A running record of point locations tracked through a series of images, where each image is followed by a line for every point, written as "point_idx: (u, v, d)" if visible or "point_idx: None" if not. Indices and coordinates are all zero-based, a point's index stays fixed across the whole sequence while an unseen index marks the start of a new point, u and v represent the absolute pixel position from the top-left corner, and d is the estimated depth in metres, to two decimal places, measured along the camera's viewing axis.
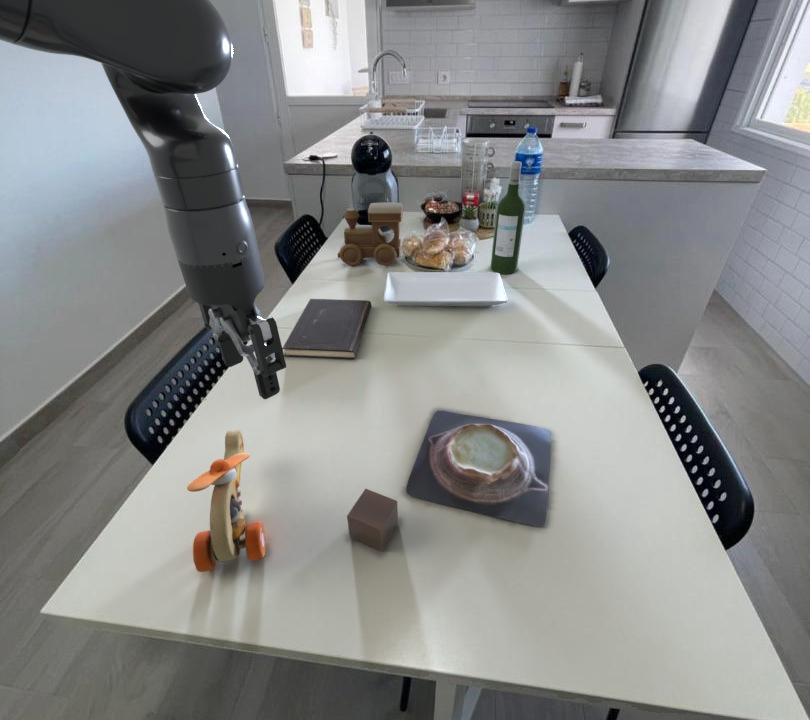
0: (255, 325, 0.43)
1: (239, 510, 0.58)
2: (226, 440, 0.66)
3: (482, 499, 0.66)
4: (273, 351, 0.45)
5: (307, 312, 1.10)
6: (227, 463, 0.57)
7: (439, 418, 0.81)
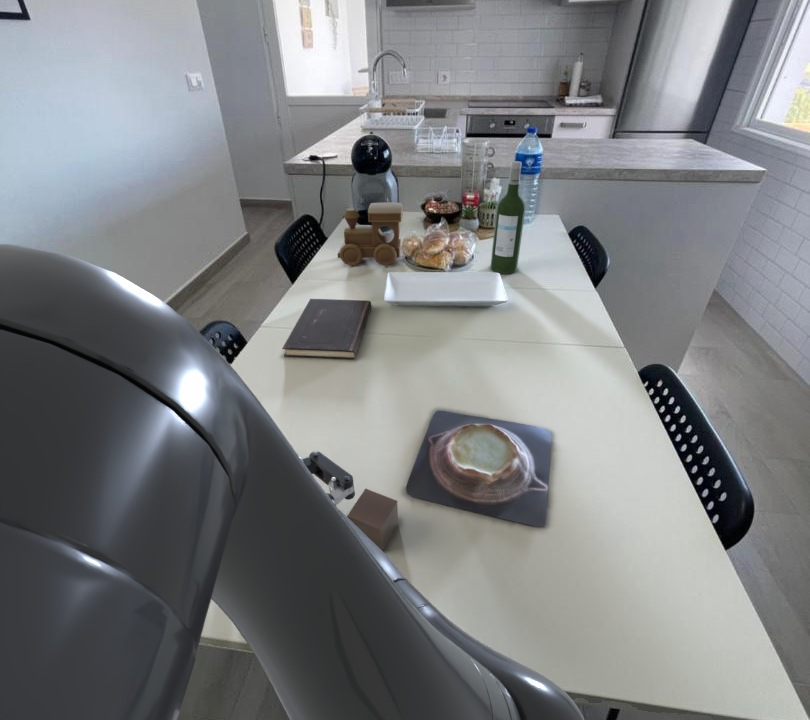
0: None
1: None
2: None
3: (482, 499, 0.66)
4: None
5: (307, 312, 1.10)
6: None
7: (439, 418, 0.81)
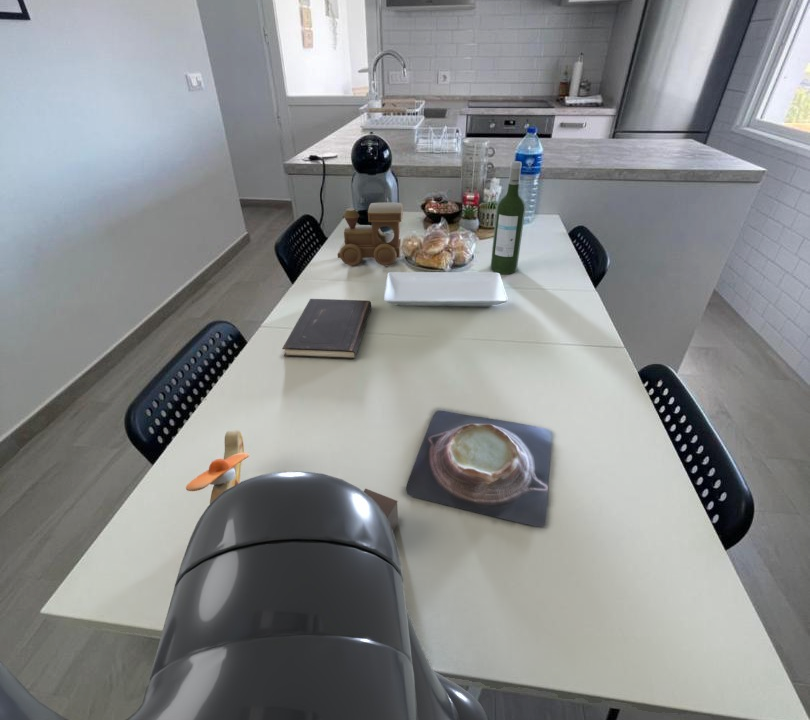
0: None
1: None
2: (226, 440, 0.66)
3: (482, 499, 0.66)
4: None
5: (307, 312, 1.10)
6: (226, 463, 0.57)
7: (439, 418, 0.81)
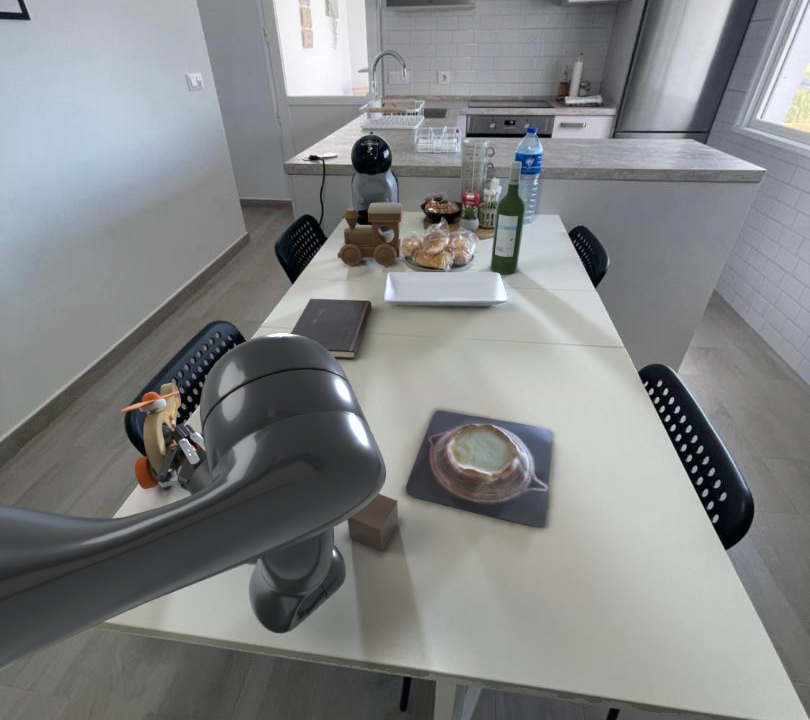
0: (159, 481, 0.61)
1: None
2: (161, 389, 0.78)
3: (482, 499, 0.66)
4: None
5: (307, 312, 1.10)
6: (156, 394, 0.68)
7: (439, 418, 0.81)
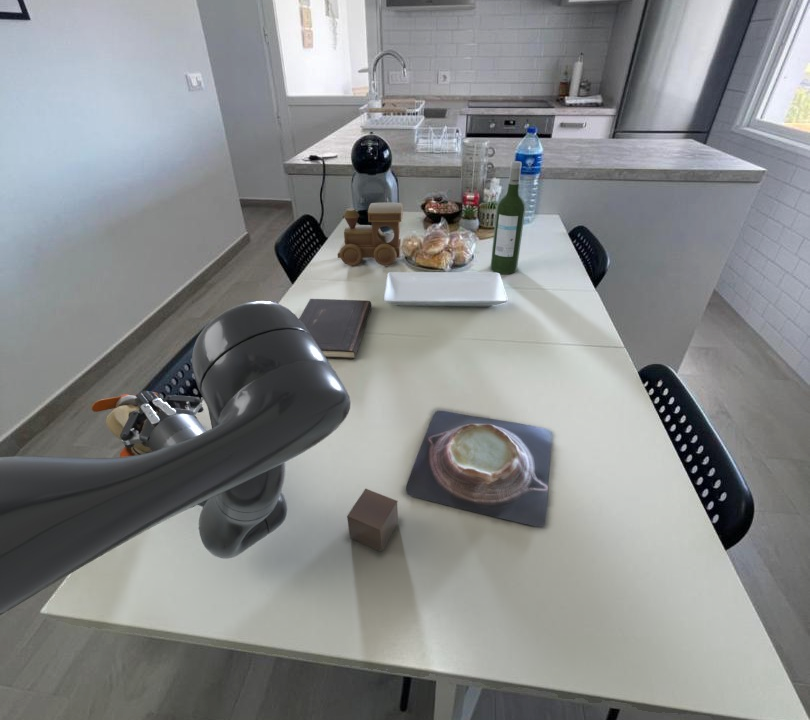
0: (122, 439, 0.67)
1: None
2: None
3: (482, 499, 0.66)
4: None
5: (307, 312, 1.10)
6: (127, 394, 0.80)
7: (439, 418, 0.81)
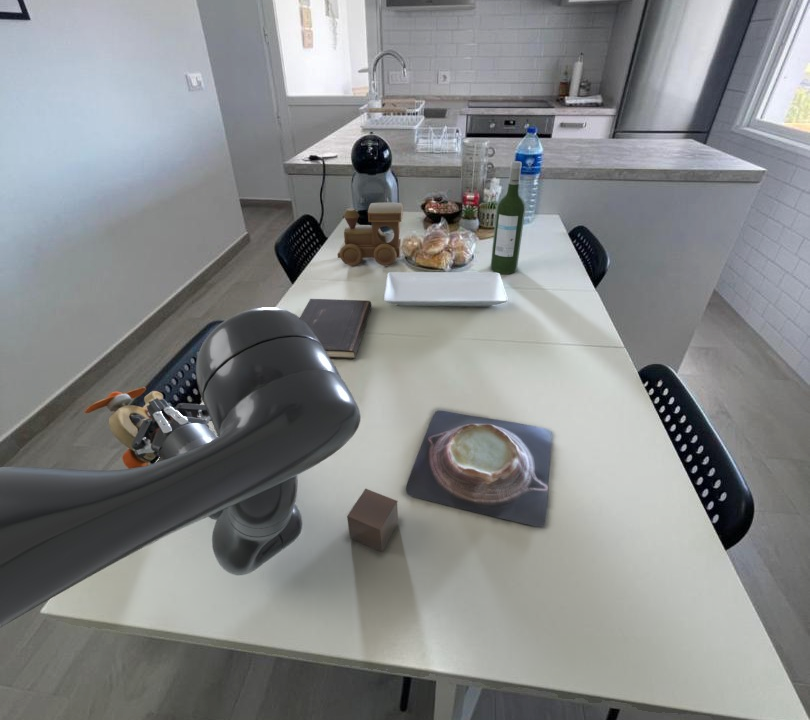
0: (134, 448, 0.66)
1: (143, 418, 0.74)
2: (144, 398, 0.85)
3: (482, 499, 0.66)
4: None
5: (307, 312, 1.10)
6: (117, 392, 0.75)
7: (439, 418, 0.81)
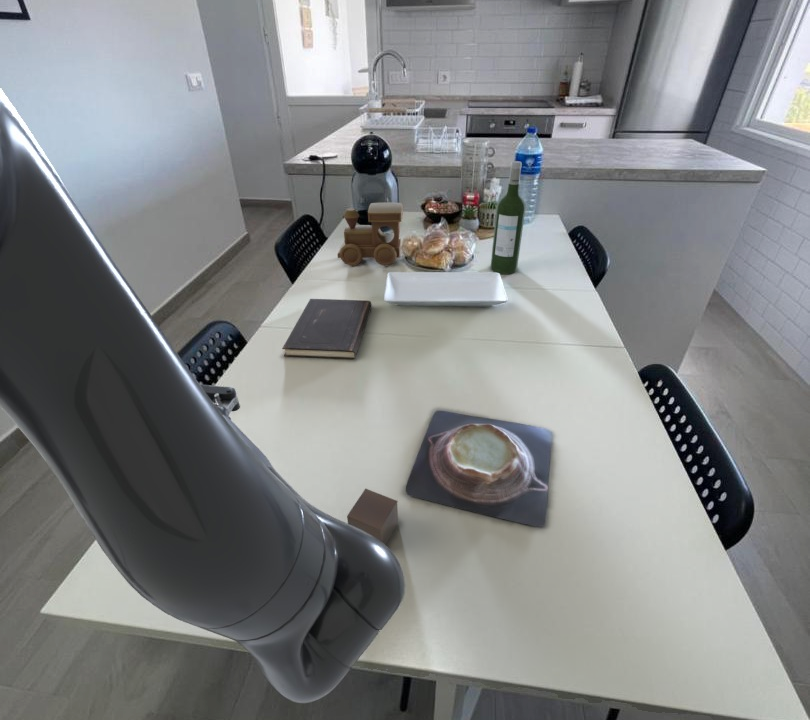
0: None
1: None
2: None
3: (482, 500, 0.66)
4: None
5: (307, 312, 1.10)
6: None
7: (438, 418, 0.81)
